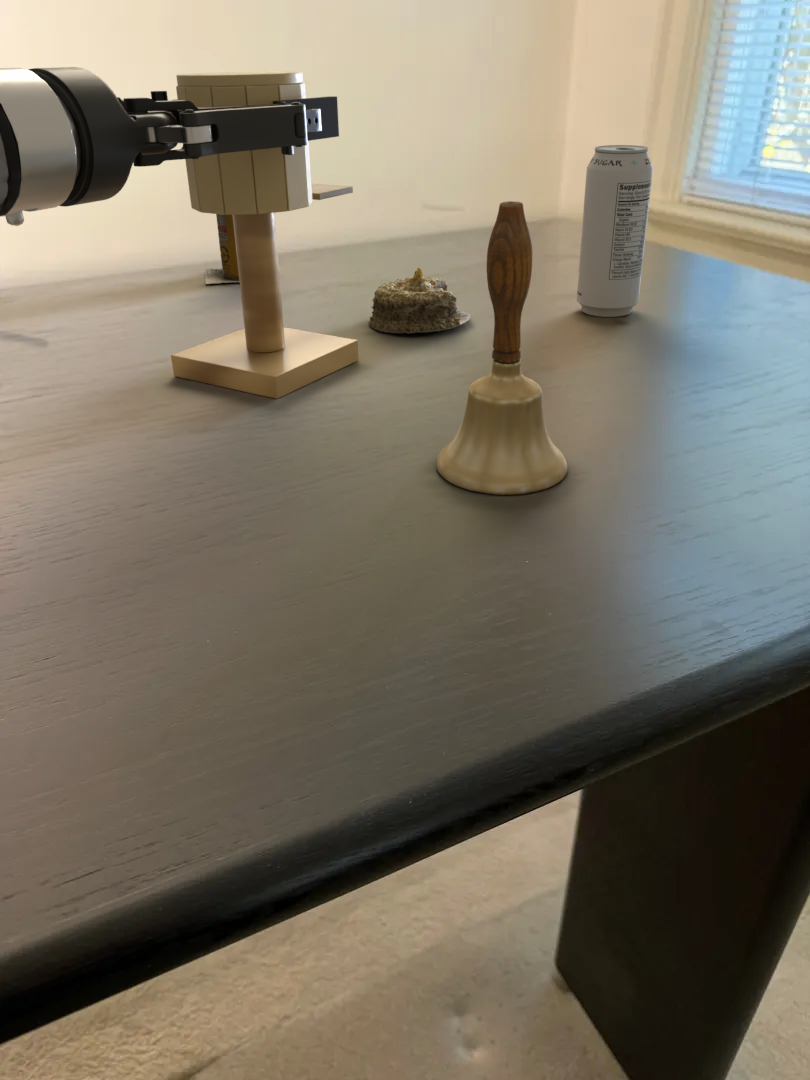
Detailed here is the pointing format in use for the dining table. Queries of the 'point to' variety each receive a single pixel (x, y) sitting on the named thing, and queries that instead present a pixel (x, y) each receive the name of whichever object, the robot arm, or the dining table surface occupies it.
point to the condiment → (225, 253)
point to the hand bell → (505, 386)
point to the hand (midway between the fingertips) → (283, 115)
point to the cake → (415, 306)
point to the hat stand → (263, 329)
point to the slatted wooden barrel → (251, 174)
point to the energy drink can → (614, 229)
